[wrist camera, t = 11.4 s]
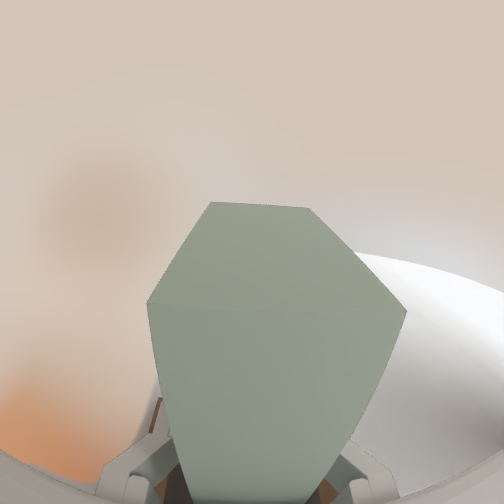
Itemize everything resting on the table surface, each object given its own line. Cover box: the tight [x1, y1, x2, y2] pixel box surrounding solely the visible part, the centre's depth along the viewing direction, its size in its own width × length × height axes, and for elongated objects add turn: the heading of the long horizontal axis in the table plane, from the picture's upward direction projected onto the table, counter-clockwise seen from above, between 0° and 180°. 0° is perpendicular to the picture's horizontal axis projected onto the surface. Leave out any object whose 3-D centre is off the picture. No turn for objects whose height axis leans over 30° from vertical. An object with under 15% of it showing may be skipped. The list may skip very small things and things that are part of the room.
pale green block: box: [147, 202, 407, 504], centre depth 8 cm, size 3×6×16 cm, turn 1°
